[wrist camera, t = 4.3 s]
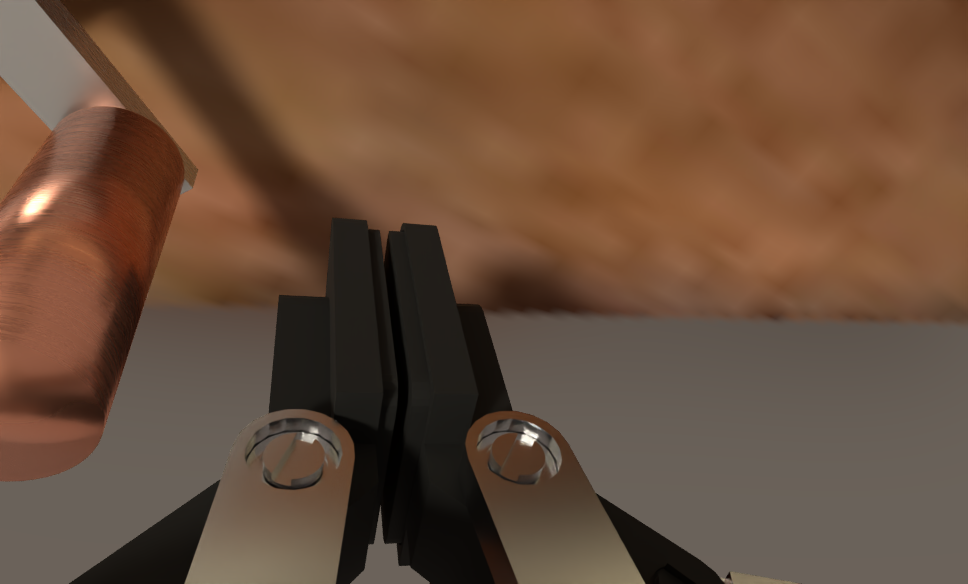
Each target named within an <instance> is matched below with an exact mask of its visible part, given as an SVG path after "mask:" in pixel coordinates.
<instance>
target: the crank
mask: <svg viewBox="0 0 968 584" xmlns="http://www.w3.org/2000/svg"><path fill="white" fill-rule="evenodd" d="M0 76H1V77H2V78H3V79H4V80H5V81H6V82H7V83H8V85H9V86H10V87H11V88H12V89H13V90H14V91H15V92H16V93H17V94H18V95H19V96H20V97H21V98H22V99H23V101H24V102H25V103H26V104H27V105H28V106H29V107H30V108H31V109H32V110H33V111H34V112H35V113H36V114H37V115H38V117H39V118H40V119H41V120H42V121H43V122H44V123H45V124H46V125H47V126H48V127H49V128H50V129H51V130H52V132H51V133H50V135H49V136H48V138H47V139H46V140H45V142H44V143H43V145H42V146H41V147H40V149H39V150H38V152H37V153H36V154H35V156H34V157H33V159H32V160H31V161H30V163H29V164H28V165H27V167H26V168H25V170H24V171H23V172H22V174H21V175H20V177H19V178H18V179H17V181H16V182H15V184H14V185H13V186H12V188H11V189H10V190H9V192H8V193H7V195H6V196H5V197H4V199H3V200H2V202H1V203H0V481H25V480H34V479H39V478H44V477H48V476H52V475H55V474H59V473H61V472H64V471H66V470H68V469H70V468H72V467H74V466H76V465H77V464H79V463H81V462H82V461H83V460H84V459H86V458H87V457H88V456H89V455H90V454H91V453H92V452H93V451H94V449H95V448H96V447H97V445H98V443H99V441H100V439H101V437H102V434H103V431H104V428H105V425H106V422H107V418H108V415H109V412H110V409H111V406H112V403H113V400H114V397H115V394H116V391H117V387H118V385H119V381H120V378H121V375H122V372H123V369H124V366H125V363H126V360H127V357H128V354H129V350H130V347H131V344H132V341H133V338H134V335H135V332H136V329H137V326H138V323H139V320H140V316H141V314H142V310H143V307H144V304H145V301H146V298H147V295H148V292H149V289H150V286H151V283H152V280H153V277H154V273H155V270H156V267H157V264H158V261H159V258H160V255H161V252H162V249H163V246H164V243H165V239H166V236H167V233H168V230H169V227H170V224H171V221H172V218H173V215H174V212H175V209H176V206H177V202H178V199H179V196H180V194H182V193H184V192H186V191H188V190H190V189H192V188H193V185H194V182H195V179H196V175H197V172H198V169H197V168H196V166H195V165H194V164H193V163H192V161H191V160H190V159H189V158H188V156H187V155H186V154H185V153H184V152H183V150H182V149H181V148H180V147H179V145H178V144H177V143H176V142H175V141H174V139H173V138H172V137H171V136H170V134H169V133H168V132H167V131H166V129H165V128H164V127H163V126H162V125H161V123H160V122H159V121H158V120H157V118H156V117H155V116H154V115H153V114H152V112H151V111H150V110H149V109H148V107H147V106H146V105H145V104H144V102H143V101H142V100H141V99H140V98H139V96H138V95H137V94H136V93H135V91H134V90H133V89H132V88H131V87H130V85H129V84H128V83H127V82H126V80H125V79H124V78H123V77H122V75H121V74H120V73H119V72H118V71H117V69H116V68H115V67H114V66H113V64H112V63H111V62H110V61H109V60H108V58H107V57H106V56H105V55H104V53H103V52H102V51H101V50H100V48H99V47H98V46H97V45H96V44H95V42H94V41H93V40H92V39H91V37H90V36H89V35H88V34H87V33H86V31H85V30H84V29H83V28H82V26H81V25H80V24H79V23H78V21H77V20H76V19H75V18H74V17H73V15H72V14H71V13H70V12H69V10H68V9H67V8H66V7H65V6H64V4H63V3H62V2H61V1H60V0H0Z"/></svg>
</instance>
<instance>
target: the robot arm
mask: <svg viewBox="0 0 968 584" xmlns="http://www.w3.org/2000/svg"><path fill="white" fill-rule="evenodd" d="M380 505H381V515H382V528H383V539H384V543H385V544H389V543H397V552H398V563H399V566H408V565H410V566H411V568H412V569H414V570H415V571H416V572H417V573H419V574H420V575H421V576H423V577H424V578H425V579H426V580H428V581H429V582H430V583H429V584H800V583H793V582H788V581H783V580H777V579H771V578H766V577H759V576H754V575H748V574H743V573H737V572H731V571H730V572H729V573H728V575H727V576H726V578H725V579H724V578H720V577H719V576H718V575H717V574H716V572H714V571H713V570H712V569H711V568H709V567H708V566H707V565H706V564H704V563H703V562H702V561H701V560H699V559H698V558H696V557H694V556H693V555H691V554H690V553H688V552H687V551H685V550H684V549H682V548H681V547H679V546H677V545H676V544H674V543H673V542H671V541H670V540H668V539H666V538H665V537H663V536H662V535H660V534H659V533H657V532H656V531H654V530H652V529H651V528H649V527H648V526H646V525H645V524H643V523H642V522H640V521H638V520H637V519H635V518H634V517H632V516H631V515H629V514H627V513H626V512H624V511H623V510H621V509H620V508H618V507H617V506H615V505H614V504H612V503H610V502H609V501H607V500H606V499H604V498H603V497H601V496H599V495H598V494H596V493H595V491H594V490H593V488H592V486H591V484H590V482H589V480H588V479H587V477H586V475H585V473H584V472H583V470H582V468H581V466H580V464H579V462H578V460H577V459H576V457H575V455H574V453H573V451H572V450H571V448H570V446H569V444H568V443H567V441H566V440H565V439H564V437H563V436H562V435H561V433H560V432H559V431H558V430H556V429H555V428H554V427H553V426H551V425H550V424H549V423H547V422H545V421H543V420H542V419H539V418H537V417H535V416H533V415H530V414H526V413H522V412H518V411H513V410H512V407H511V404H510V400H509V397H508V393H507V390H506V387H505V384H504V380H503V376H502V373H501V370H500V366H499V363H498V360H497V356H496V353H495V349H494V346H493V343H492V339H491V336H490V333H489V329H488V326H487V322H486V319H485V316H484V312H483V310H482V308H481V306H479V305H475V304H456V301H455V297H454V293H453V289H452V285H451V281H450V277H449V273H448V269H447V265H446V261H445V257H444V253H443V249H442V245H441V241H440V237H439V233H438V229H437V226H433V225H420V224H407V223H403V224H402V226H401V230H400V232H397V231H389V234H388V239H387V246H386V253H385V261H384V262H383V253H382V245H381V237H380V231H379V230H370V229H368V225H367V221H366V220H355V219H342V218H332V224H331V236H330V248H329V260H328V273H327V285H326V297H309V296H289V295H279V302H278V313H277V324H276V336H275V347H274V359H273V371H272V382H271V393H270V404H269V413H268V414H266V415H264V416H262V417H260V418H258V419H256V420H254V421H252V422H251V423H250V424H249V425H248V426H247V427H245V428H244V429H243V430H242V431H241V432H240V433H239V435H238V437H237V439H236V440H235V442H234V444H233V446H232V449H231V451H230V454H229V457H228V460H227V463H226V466H225V469H224V471H223V474H222V478H221V479H220V480H219V481H217V482H216V483H214V484H213V485H211V486H210V487H208V488H207V489H206V490H204V491H203V492H201V493H200V494H198V495H197V496H195V497H194V498H193V499H191V500H190V501H188V502H187V503H186V504H184V505H182V506H181V507H180V508H178V509H177V510H175V511H174V512H172V513H171V514H169V515H168V516H166V517H165V518H164V519H162V520H161V521H159V522H158V523H156V524H155V525H153V526H152V527H150V528H149V529H148V530H146V531H145V532H143V533H142V534H140V535H139V536H138V537H136V538H135V539H133V540H132V541H130V542H129V543H127V544H126V545H124V546H123V547H121V548H120V549H119V550H117V551H116V552H114V553H113V554H111V555H110V556H109V557H107V558H106V559H104V560H103V561H101V562H100V563H98V564H97V565H95V566H94V567H92V568H91V569H90V570H88V571H87V572H85V573H84V574H82V575H81V576H79V577H78V578H77V579H75V580H74V581H72V582H71V583H69V584H350V583H351V582H352V581H353V580H354V579H355V578H356V577H357V576H358V575H359V574H360V573H361V572H362V571H363V570H364V568H365V562H366V555H367V549H368V544H373V543H374V540H375V534H376V528H377V522H378V516H379V511H380Z"/></svg>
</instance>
